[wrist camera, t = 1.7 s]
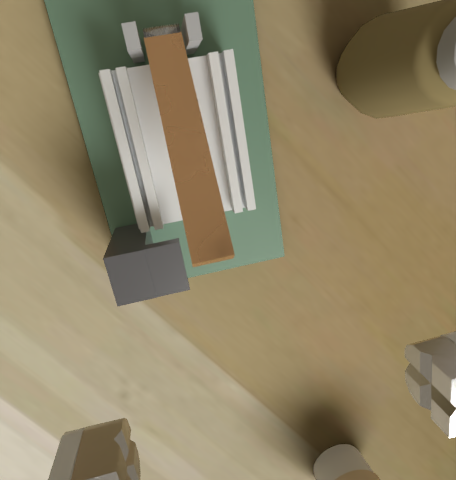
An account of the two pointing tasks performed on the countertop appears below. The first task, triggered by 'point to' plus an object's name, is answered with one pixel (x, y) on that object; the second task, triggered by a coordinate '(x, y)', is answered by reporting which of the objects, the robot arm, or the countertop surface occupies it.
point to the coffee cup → (342, 465)
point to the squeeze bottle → (402, 62)
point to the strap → (187, 147)
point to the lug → (143, 266)
